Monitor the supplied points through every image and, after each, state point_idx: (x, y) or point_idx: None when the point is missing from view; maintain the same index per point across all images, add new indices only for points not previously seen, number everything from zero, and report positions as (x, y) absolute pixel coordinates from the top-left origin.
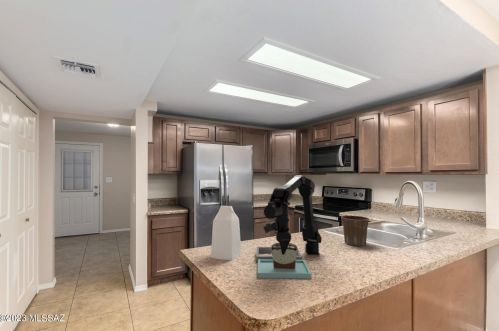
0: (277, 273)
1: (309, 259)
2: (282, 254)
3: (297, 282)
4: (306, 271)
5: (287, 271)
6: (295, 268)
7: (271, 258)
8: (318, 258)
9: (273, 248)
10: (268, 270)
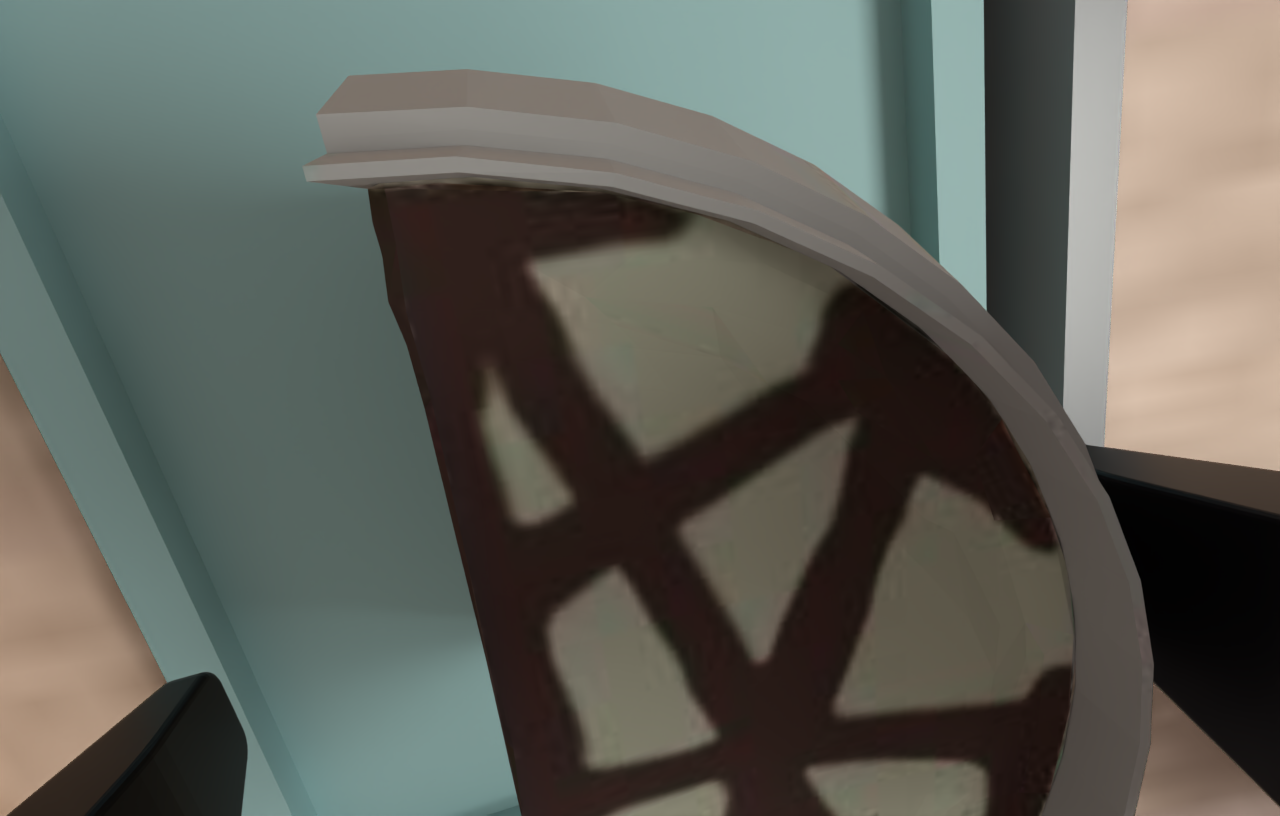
0: (12, 365)
1: (1156, 693)
2: (179, 694)
3: (27, 721)
4: (503, 804)
5: (395, 510)
6: None
7: (1040, 38)
8: (1191, 791)
9: (389, 299)
10: (305, 63)
